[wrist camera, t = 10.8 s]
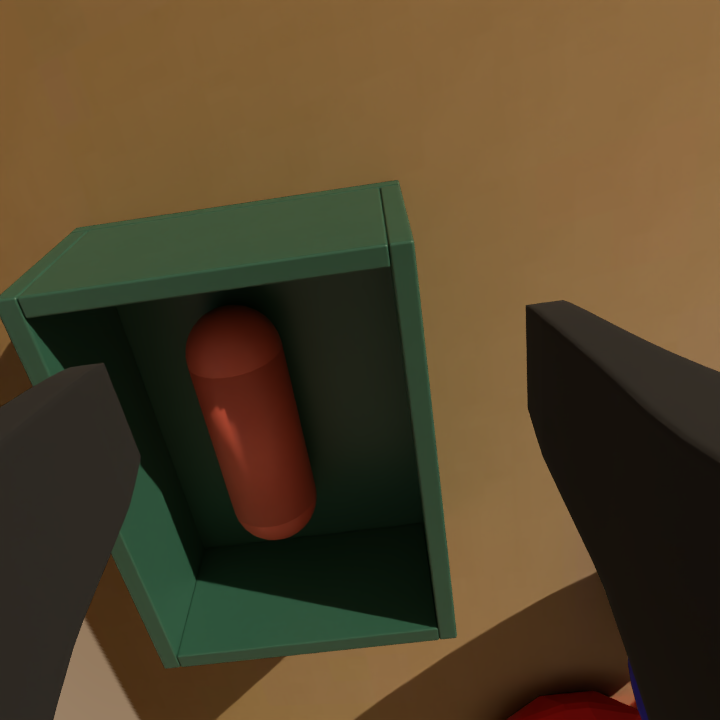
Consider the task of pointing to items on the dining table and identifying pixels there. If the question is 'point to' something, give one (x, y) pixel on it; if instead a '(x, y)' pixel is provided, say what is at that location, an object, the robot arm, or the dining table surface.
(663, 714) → the robot arm
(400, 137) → the dining table surface
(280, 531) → the red capsule pill
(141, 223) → the bin
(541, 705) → the gemstone
